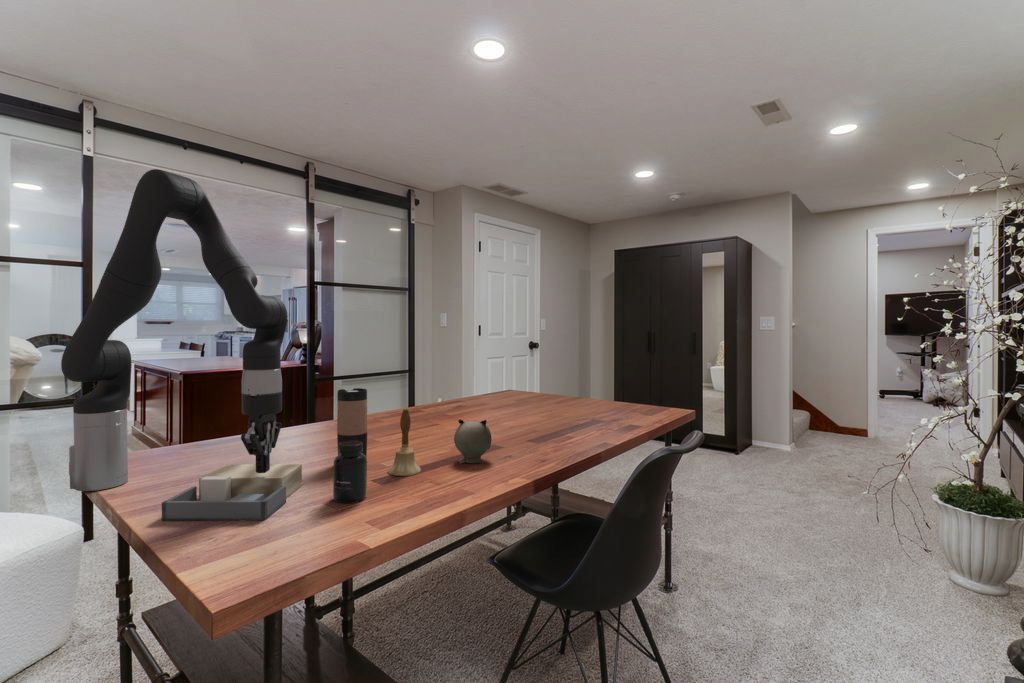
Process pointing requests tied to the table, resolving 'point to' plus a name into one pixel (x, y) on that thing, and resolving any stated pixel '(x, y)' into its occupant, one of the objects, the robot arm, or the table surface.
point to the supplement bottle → (350, 473)
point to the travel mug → (352, 417)
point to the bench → (260, 478)
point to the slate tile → (248, 497)
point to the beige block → (215, 488)
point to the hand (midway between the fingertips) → (262, 471)
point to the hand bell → (404, 452)
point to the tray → (220, 507)
